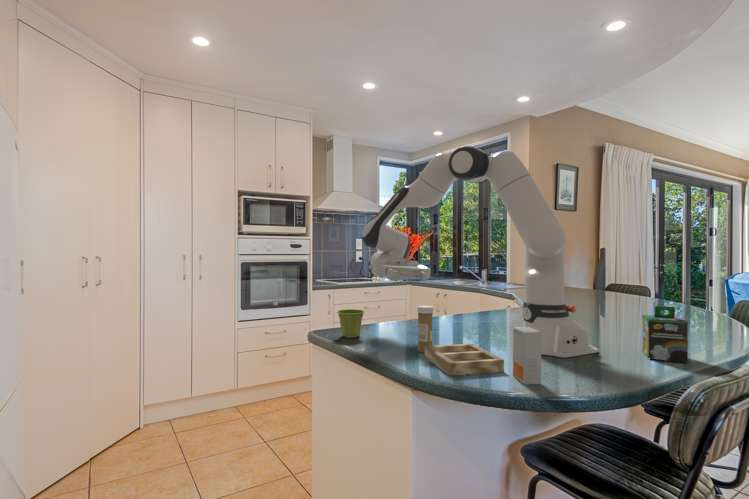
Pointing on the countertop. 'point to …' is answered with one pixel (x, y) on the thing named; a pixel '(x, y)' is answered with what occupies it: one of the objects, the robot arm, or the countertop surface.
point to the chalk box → (665, 336)
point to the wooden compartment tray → (464, 359)
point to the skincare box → (527, 355)
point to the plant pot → (350, 322)
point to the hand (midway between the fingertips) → (410, 275)
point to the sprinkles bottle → (425, 327)
